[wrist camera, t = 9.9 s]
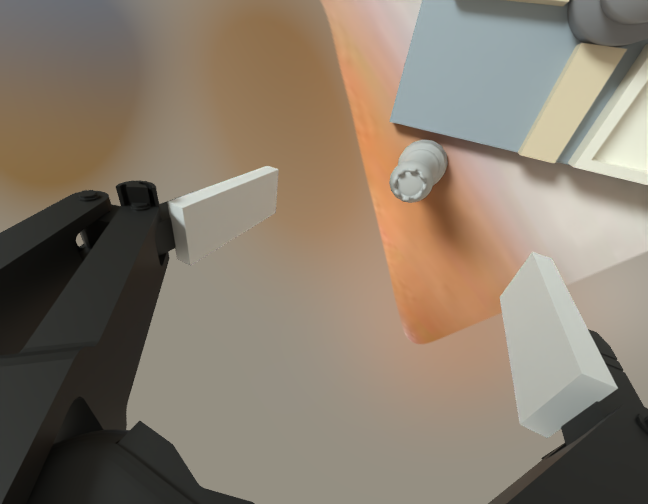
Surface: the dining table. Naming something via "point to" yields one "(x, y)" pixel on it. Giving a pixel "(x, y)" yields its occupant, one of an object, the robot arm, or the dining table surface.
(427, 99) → the base plate with blocks
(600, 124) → the socket
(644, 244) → the dining table surface
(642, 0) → the hinged leg
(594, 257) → the dining table surface
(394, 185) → the rook chess piece
